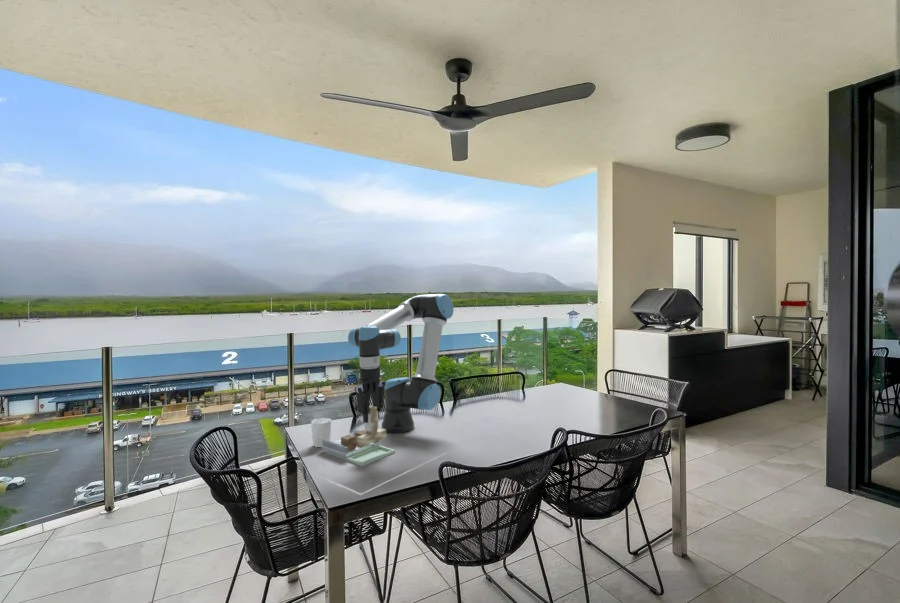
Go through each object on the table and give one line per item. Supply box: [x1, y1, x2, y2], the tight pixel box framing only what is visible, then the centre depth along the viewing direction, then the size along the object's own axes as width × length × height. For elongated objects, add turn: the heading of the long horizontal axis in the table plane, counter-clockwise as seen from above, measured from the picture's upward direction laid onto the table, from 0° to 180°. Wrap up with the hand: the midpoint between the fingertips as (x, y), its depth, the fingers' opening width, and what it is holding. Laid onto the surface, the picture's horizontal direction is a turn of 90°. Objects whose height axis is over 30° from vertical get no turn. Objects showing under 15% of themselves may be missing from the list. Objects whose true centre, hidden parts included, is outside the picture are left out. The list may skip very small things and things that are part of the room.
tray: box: [345, 444, 396, 467], centre depth 148 cm, size 16×9×2 cm, turn 142°
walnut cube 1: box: [340, 434, 356, 450], centre depth 151 cm, size 4×4×4 cm
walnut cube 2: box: [356, 429, 366, 443], centre depth 156 cm, size 4×4×4 cm
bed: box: [321, 429, 380, 461], centre depth 155 cm, size 16×15×5 cm
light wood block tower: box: [357, 404, 388, 447], centre depth 148 cm, size 12×3×13 cm, turn 142°
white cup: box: [310, 417, 332, 448], centre depth 162 cm, size 8×8×10 cm
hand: (371, 429), depth 148 cm, fingers closed on light wood block tower, 3 cm apart
